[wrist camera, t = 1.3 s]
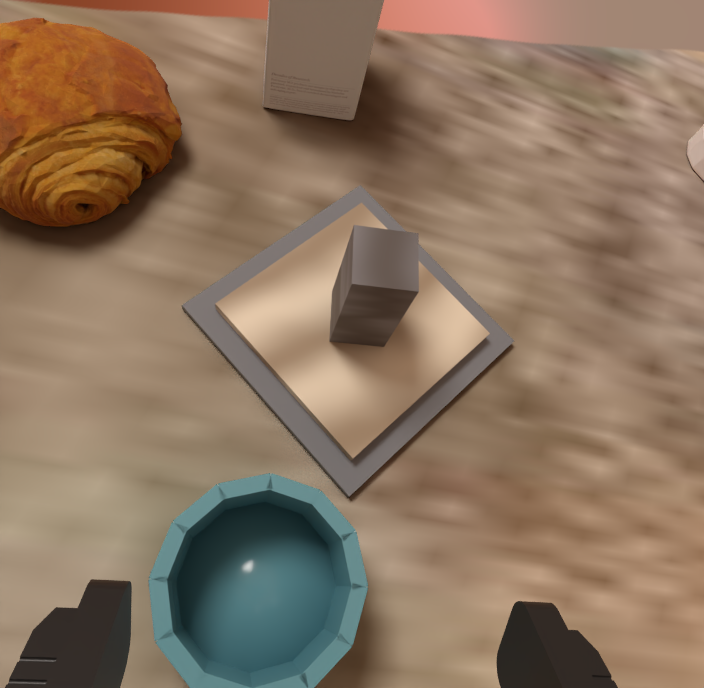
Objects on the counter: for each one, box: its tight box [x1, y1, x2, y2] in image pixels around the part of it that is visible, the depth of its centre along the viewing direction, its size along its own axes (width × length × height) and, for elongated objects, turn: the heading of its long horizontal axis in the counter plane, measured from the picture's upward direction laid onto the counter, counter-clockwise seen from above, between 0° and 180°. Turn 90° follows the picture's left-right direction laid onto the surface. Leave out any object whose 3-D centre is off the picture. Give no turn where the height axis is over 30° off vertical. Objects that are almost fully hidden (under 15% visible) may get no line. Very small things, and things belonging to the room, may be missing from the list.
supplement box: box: [263, 0, 384, 120], centre depth 42 cm, size 7×7×13 cm
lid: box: [215, 203, 490, 461], centre depth 35 cm, size 13×13×9 cm
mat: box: [182, 185, 514, 497], centre depth 40 cm, size 16×16×1 cm
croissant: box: [0, 18, 182, 227], centre depth 39 cm, size 14×16×8 cm
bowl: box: [149, 473, 368, 688], centre depth 30 cm, size 10×10×6 cm
